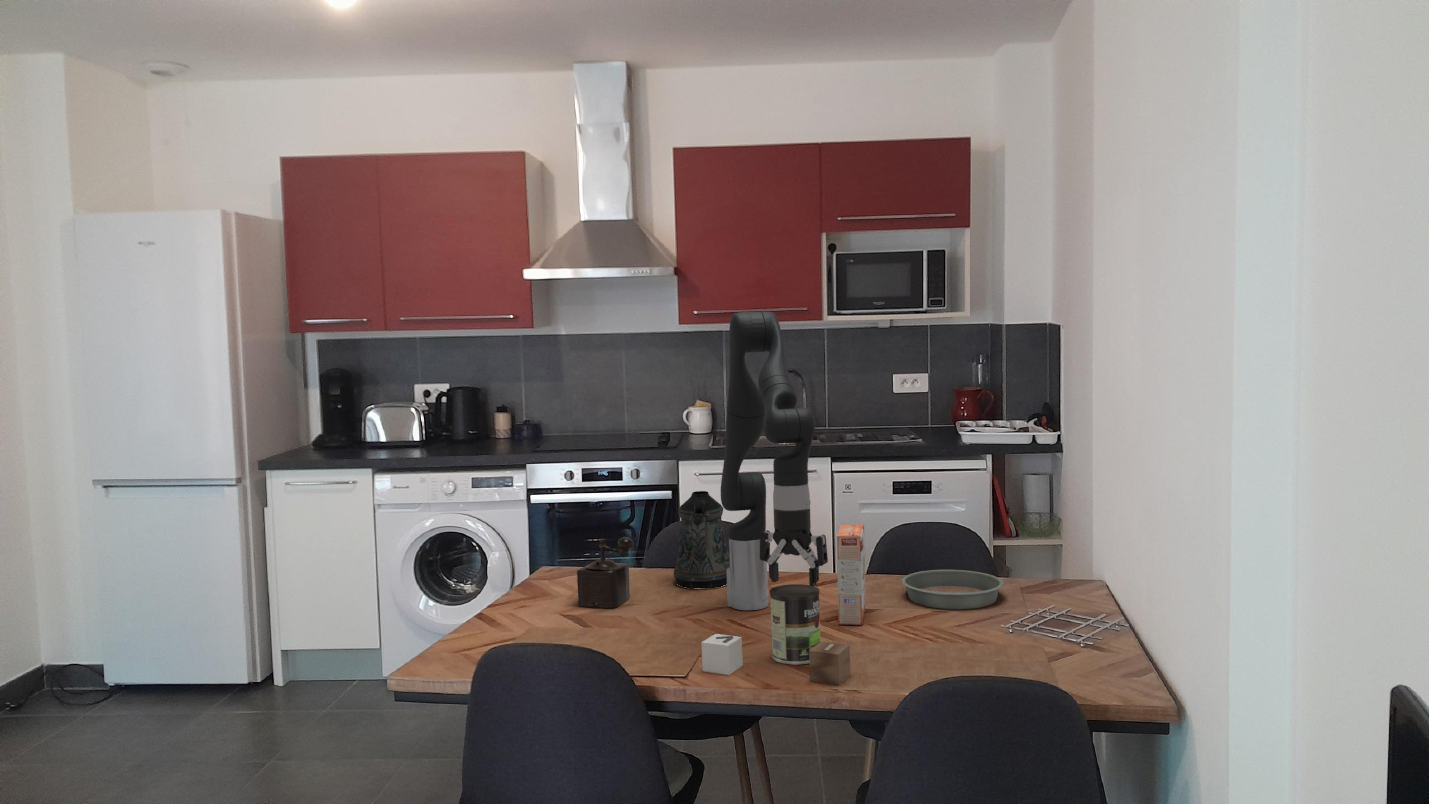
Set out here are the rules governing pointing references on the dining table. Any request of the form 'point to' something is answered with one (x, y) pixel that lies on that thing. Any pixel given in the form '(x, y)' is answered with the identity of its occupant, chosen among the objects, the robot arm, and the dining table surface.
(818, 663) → the walnut block
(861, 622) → the cracker box
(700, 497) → the dark ornate jug
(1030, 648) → the dining table surface
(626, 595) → the manual coffee grinder
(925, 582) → the cake pan
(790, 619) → the coffee can
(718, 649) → the offwhite block
